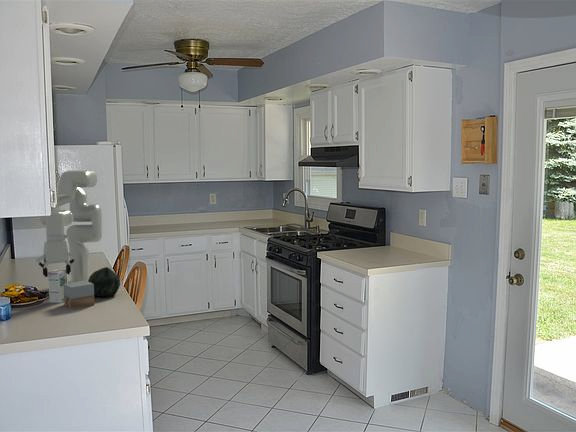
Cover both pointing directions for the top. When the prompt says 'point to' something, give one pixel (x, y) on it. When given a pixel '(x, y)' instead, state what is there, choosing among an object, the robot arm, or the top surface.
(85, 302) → the bottom block
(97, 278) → the squash
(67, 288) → the top block
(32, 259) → the top surface
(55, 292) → the syrup box
